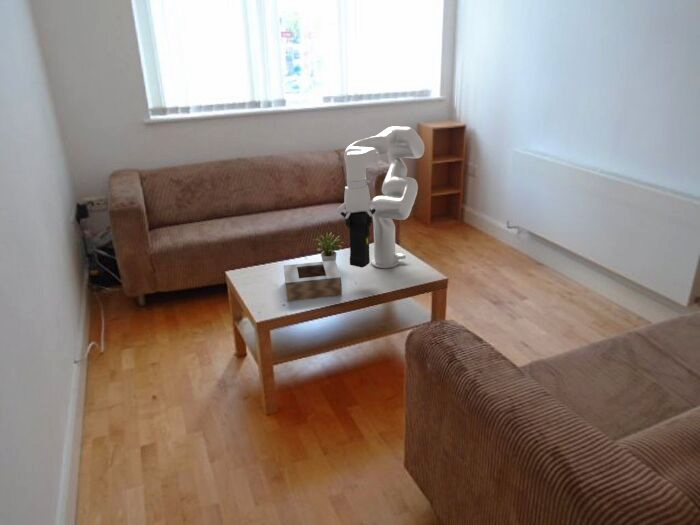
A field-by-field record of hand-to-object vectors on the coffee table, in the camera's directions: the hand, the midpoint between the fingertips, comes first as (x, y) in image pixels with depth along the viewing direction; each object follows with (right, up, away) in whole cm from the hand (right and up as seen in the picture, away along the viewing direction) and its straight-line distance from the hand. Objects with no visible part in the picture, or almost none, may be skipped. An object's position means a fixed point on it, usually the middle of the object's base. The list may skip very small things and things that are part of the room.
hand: (358, 225), depth 209 cm
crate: (-19, -26, +7) cm, 33 cm away
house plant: (-14, -17, +27) cm, 35 cm away
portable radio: (+1, -16, +7) cm, 17 cm away
